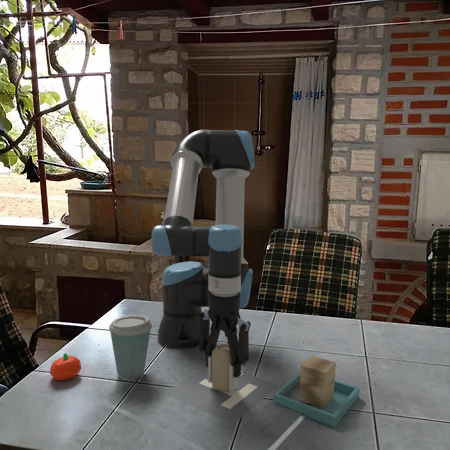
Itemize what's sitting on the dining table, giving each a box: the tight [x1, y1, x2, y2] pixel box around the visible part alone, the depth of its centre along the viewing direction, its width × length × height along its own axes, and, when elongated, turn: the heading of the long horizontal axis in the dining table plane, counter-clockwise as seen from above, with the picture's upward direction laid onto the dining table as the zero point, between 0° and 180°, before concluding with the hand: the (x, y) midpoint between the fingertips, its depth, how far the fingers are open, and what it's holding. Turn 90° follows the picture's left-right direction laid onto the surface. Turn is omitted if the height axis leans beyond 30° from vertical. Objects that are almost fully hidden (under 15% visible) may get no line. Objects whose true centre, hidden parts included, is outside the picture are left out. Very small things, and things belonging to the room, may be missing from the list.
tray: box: [272, 370, 361, 429], centre depth 109 cm, size 15×15×2 cm
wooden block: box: [298, 355, 337, 410], centre depth 109 cm, size 6×6×9 cm
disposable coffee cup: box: [108, 314, 153, 381], centre depth 119 cm, size 11×11×15 cm
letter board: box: [163, 366, 280, 424], centre depth 113 cm, size 20×20×1 cm
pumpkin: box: [49, 352, 82, 381], centre depth 118 cm, size 7×8×6 cm
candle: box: [212, 343, 232, 391], centre depth 112 cm, size 6×6×10 cm
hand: (222, 383), depth 112 cm, fingers closed on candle, 5 cm apart
